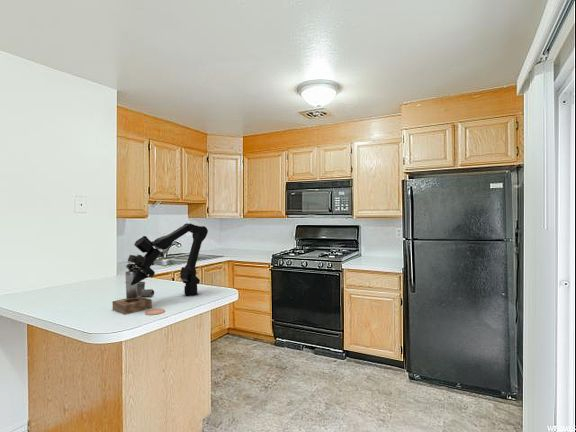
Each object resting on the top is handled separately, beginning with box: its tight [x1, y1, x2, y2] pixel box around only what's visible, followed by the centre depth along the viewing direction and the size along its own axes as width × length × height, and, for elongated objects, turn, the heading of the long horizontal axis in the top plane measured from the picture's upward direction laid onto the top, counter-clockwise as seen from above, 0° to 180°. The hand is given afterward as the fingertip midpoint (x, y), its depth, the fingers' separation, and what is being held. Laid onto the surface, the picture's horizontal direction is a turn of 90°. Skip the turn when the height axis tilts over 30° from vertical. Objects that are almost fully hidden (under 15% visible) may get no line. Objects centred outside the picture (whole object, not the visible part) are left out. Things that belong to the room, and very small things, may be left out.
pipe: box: [137, 281, 155, 297], centre depth 191 cm, size 6×13×8 cm, turn 78°
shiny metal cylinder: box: [125, 270, 138, 299], centre depth 167 cm, size 5×5×12 cm
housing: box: [112, 296, 153, 315], centre depth 167 cm, size 13×13×4 cm
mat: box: [144, 308, 166, 316], centre depth 160 cm, size 9×9×1 cm
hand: (128, 284), depth 166 cm, fingers closed on shiny metal cylinder, 5 cm apart
